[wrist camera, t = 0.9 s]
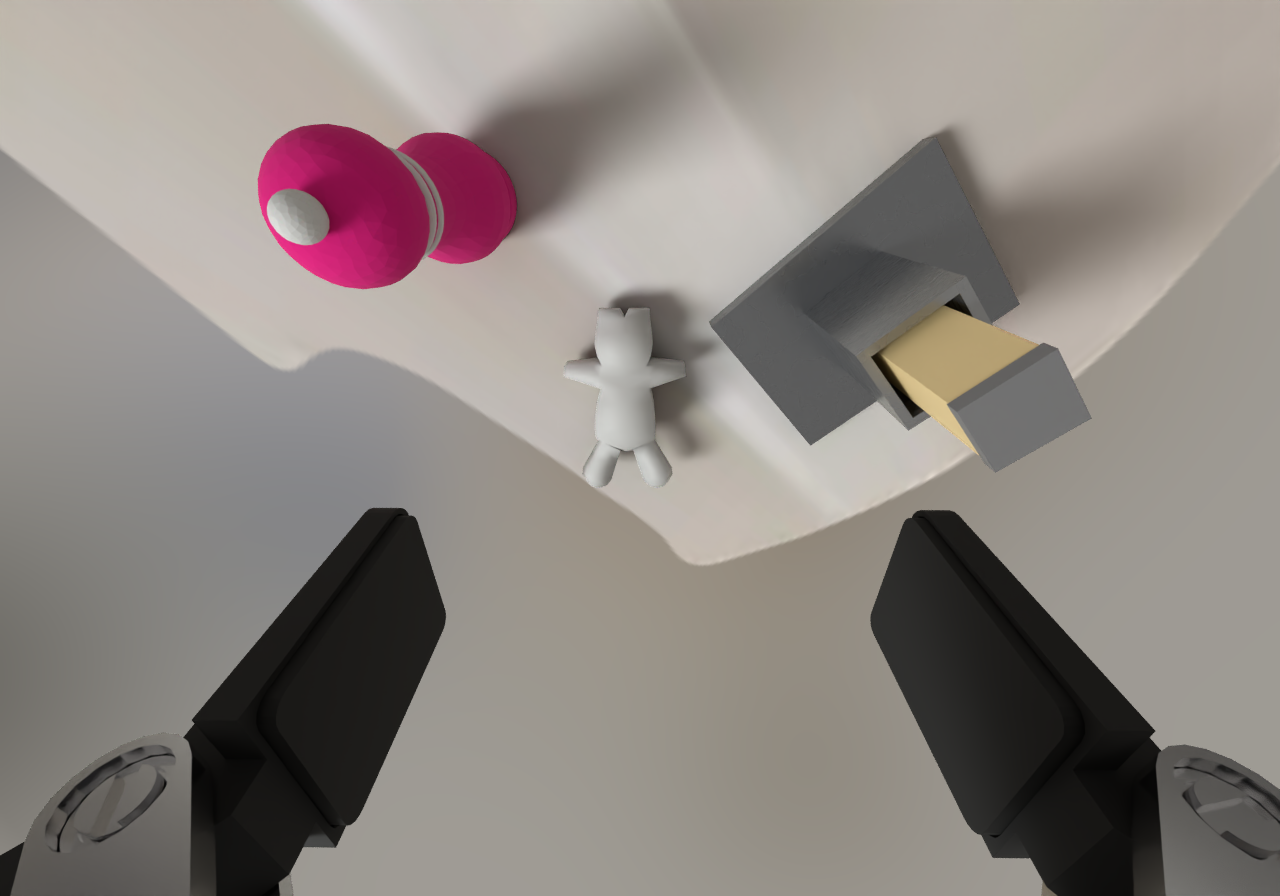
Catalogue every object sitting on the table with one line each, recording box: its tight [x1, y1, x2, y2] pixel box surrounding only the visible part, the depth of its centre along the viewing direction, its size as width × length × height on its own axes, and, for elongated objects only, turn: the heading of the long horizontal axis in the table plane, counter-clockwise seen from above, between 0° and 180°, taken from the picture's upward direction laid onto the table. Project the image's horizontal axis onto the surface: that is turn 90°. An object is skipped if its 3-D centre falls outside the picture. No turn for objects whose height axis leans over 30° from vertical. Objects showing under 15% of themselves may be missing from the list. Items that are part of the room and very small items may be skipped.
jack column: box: [871, 305, 1091, 472], centre depth 28 cm, size 4×4×17 cm
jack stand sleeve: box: [709, 137, 1019, 445], centre depth 31 cm, size 18×14×12 cm
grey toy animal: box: [564, 308, 686, 488], centre depth 38 cm, size 10×5×15 cm
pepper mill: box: [258, 124, 517, 289], centre depth 24 cm, size 7×7×20 cm
